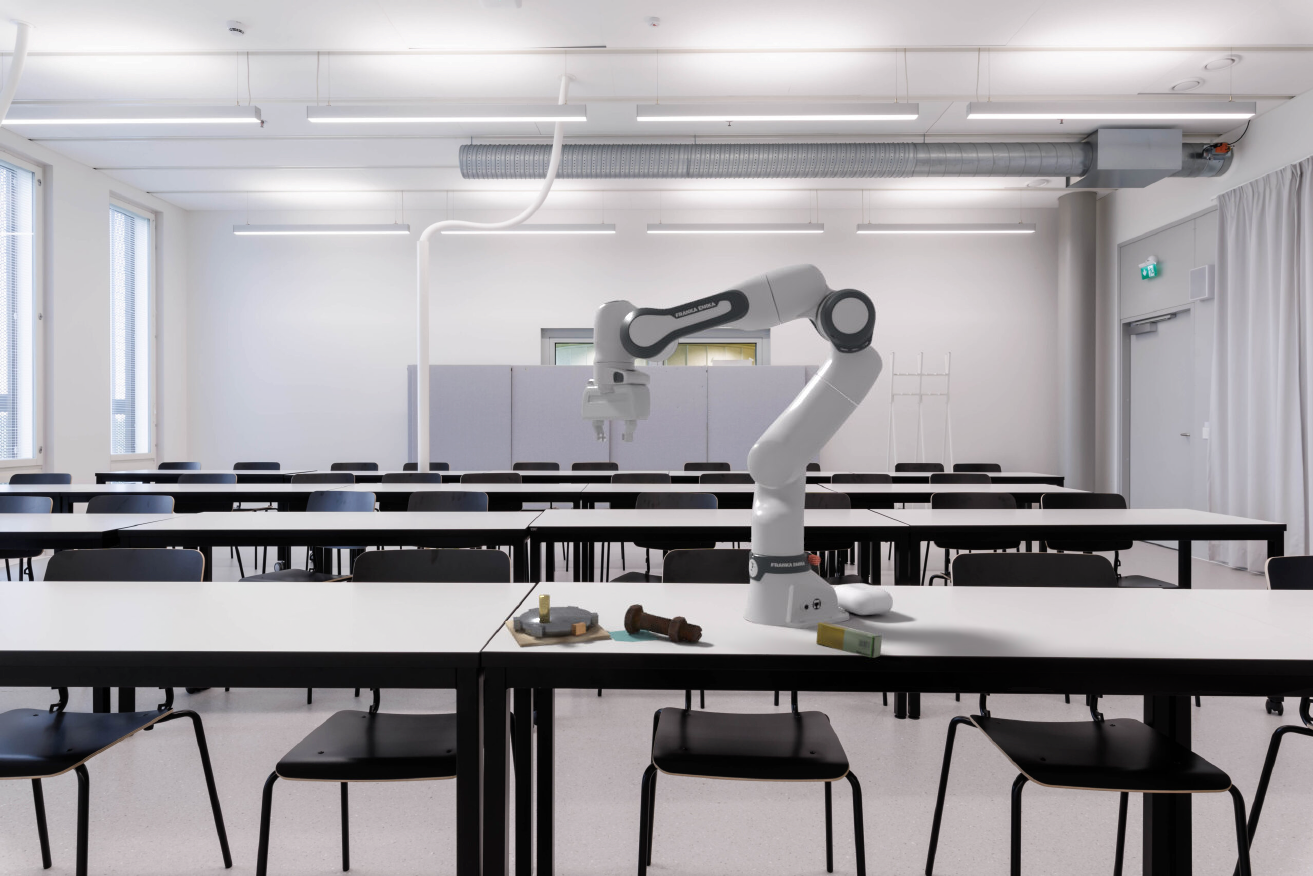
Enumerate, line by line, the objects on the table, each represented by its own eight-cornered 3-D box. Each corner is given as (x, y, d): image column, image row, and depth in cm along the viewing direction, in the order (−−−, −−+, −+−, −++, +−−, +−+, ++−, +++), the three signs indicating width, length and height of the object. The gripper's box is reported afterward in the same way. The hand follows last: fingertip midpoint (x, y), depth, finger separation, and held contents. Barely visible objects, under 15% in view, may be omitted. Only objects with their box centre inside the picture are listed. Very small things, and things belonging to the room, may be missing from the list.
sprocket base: (586, 618, 155) (586, 613, 155) (610, 640, 139) (610, 635, 139) (505, 626, 149) (505, 621, 149) (520, 649, 133) (520, 644, 133)
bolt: (702, 613, 136) (633, 598, 144) (690, 632, 133) (621, 615, 140) (707, 636, 139) (639, 620, 146) (696, 655, 135) (627, 638, 143)
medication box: (881, 658, 129) (883, 635, 129) (873, 660, 127) (875, 636, 127) (823, 642, 138) (824, 620, 138) (815, 643, 136) (816, 621, 136)
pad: (644, 629, 146) (644, 628, 146) (658, 640, 139) (658, 639, 138) (606, 633, 143) (606, 632, 143) (618, 645, 136) (618, 643, 136)
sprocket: (540, 612, 154) (539, 579, 154) (607, 618, 149) (607, 584, 149) (500, 633, 138) (499, 596, 138) (574, 640, 134) (574, 602, 134)
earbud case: (863, 602, 169) (863, 579, 169) (899, 616, 157) (899, 590, 157) (824, 606, 166) (824, 582, 166) (859, 620, 154) (859, 594, 154)
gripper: (574, 379, 164) (574, 441, 164) (631, 374, 148) (631, 442, 148) (597, 380, 168) (597, 441, 168) (655, 375, 152) (655, 442, 152)
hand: (613, 441), depth 158 cm, fingers open, 8 cm apart
